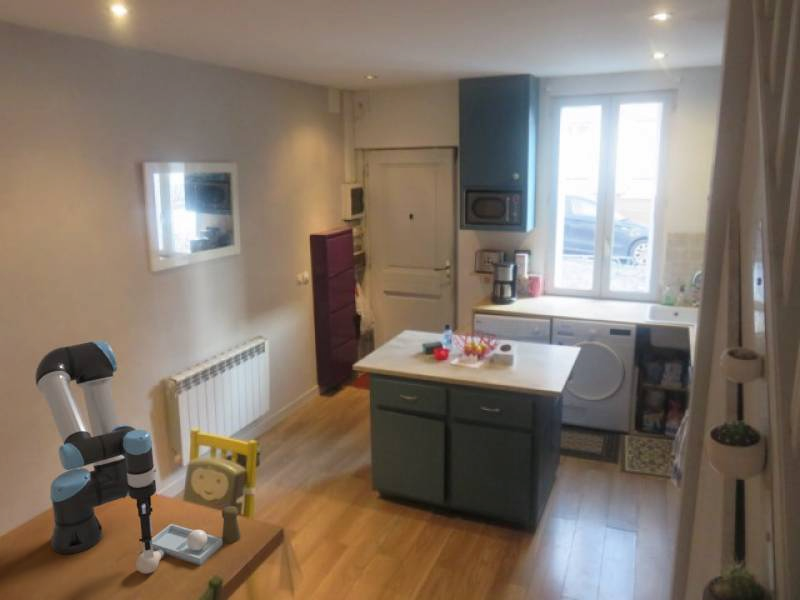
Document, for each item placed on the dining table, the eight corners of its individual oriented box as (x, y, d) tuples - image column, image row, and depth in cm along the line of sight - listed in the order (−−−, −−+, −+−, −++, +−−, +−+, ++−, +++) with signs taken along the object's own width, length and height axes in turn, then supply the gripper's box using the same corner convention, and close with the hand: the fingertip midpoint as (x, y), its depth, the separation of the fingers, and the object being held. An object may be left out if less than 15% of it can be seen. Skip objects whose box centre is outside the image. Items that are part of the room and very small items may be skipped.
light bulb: (154, 539, 199) (134, 552, 188) (173, 546, 198) (153, 559, 187) (149, 559, 199) (129, 573, 188) (167, 566, 198) (148, 580, 187)
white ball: (183, 552, 199) (181, 534, 198) (196, 540, 205) (195, 523, 203) (199, 557, 197) (197, 539, 195) (212, 545, 202) (211, 528, 201)
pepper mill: (235, 544, 204) (234, 514, 202) (218, 542, 206) (216, 512, 203) (243, 533, 210) (242, 504, 208) (227, 531, 211) (225, 502, 209)
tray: (147, 548, 202) (147, 541, 201) (171, 530, 212) (171, 523, 211) (200, 565, 194) (199, 558, 193) (222, 545, 204) (222, 538, 203)
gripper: (156, 499, 175) (163, 565, 180) (154, 461, 197) (160, 520, 202) (127, 505, 172) (135, 572, 177) (128, 465, 195) (135, 525, 199)
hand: (148, 545), depth 190 cm, fingers open, 13 cm apart
